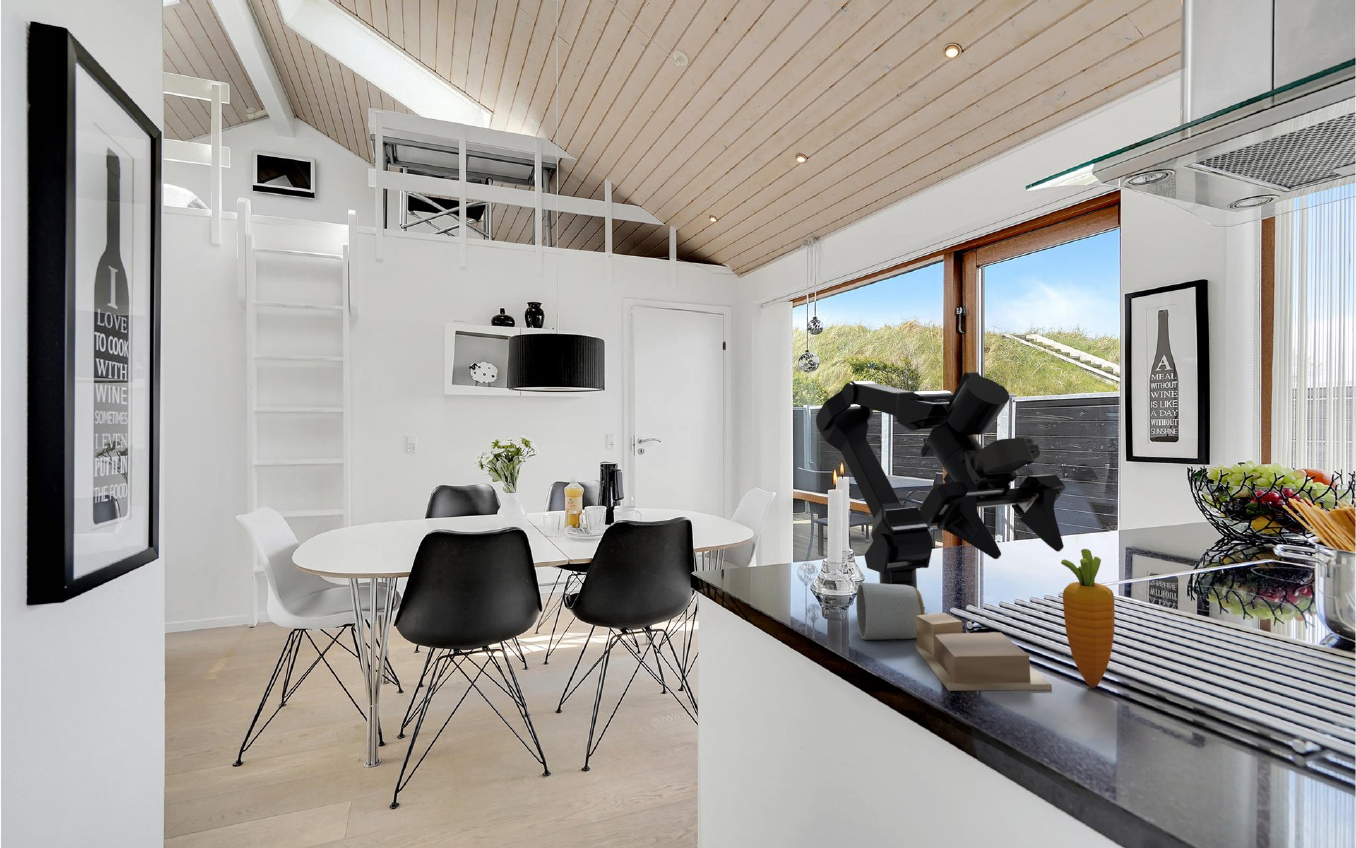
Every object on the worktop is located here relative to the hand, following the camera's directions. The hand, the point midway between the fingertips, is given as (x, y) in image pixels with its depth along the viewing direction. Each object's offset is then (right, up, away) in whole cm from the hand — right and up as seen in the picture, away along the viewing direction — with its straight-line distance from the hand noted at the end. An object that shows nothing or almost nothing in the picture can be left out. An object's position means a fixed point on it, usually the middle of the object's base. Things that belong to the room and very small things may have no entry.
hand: (1030, 553), depth 80 cm
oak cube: (-9, -13, +5) cm, 17 cm away
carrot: (+3, -14, -8) cm, 16 cm away
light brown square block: (-7, -13, -3) cm, 15 cm away
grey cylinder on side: (-13, -14, +13) cm, 24 cm away
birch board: (-6, -14, 0) cm, 15 cm away
